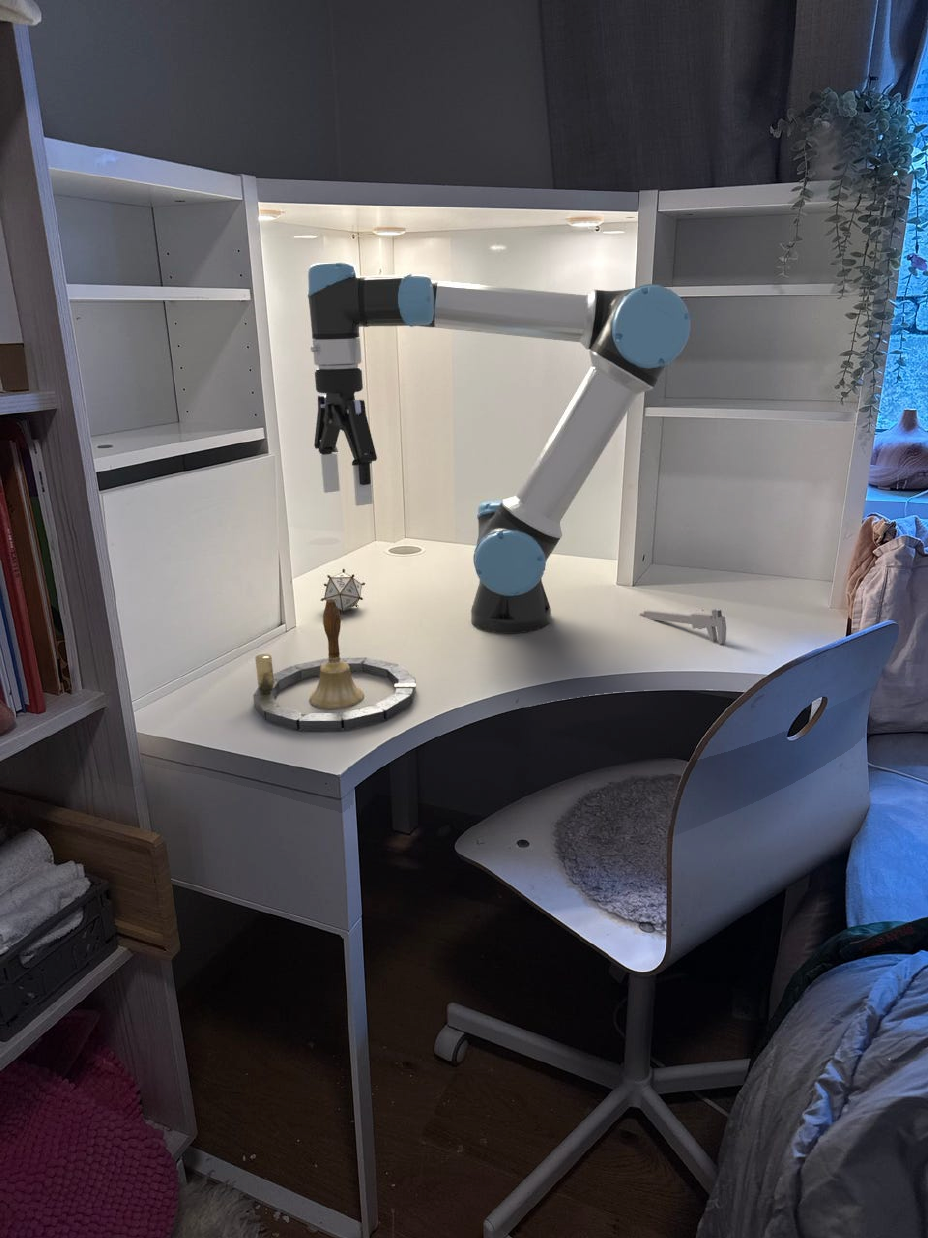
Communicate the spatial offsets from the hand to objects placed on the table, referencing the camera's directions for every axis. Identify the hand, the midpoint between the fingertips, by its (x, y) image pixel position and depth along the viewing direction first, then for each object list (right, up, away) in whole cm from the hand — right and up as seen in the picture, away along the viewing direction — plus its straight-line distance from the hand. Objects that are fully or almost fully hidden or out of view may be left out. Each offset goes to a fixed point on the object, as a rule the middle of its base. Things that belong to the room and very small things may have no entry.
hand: (347, 497), depth 149 cm
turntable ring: (0, -33, -12) cm, 35 cm away
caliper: (+59, -23, +13) cm, 65 cm away
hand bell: (0, -33, -12) cm, 35 cm away
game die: (-4, -19, +28) cm, 34 cm away
